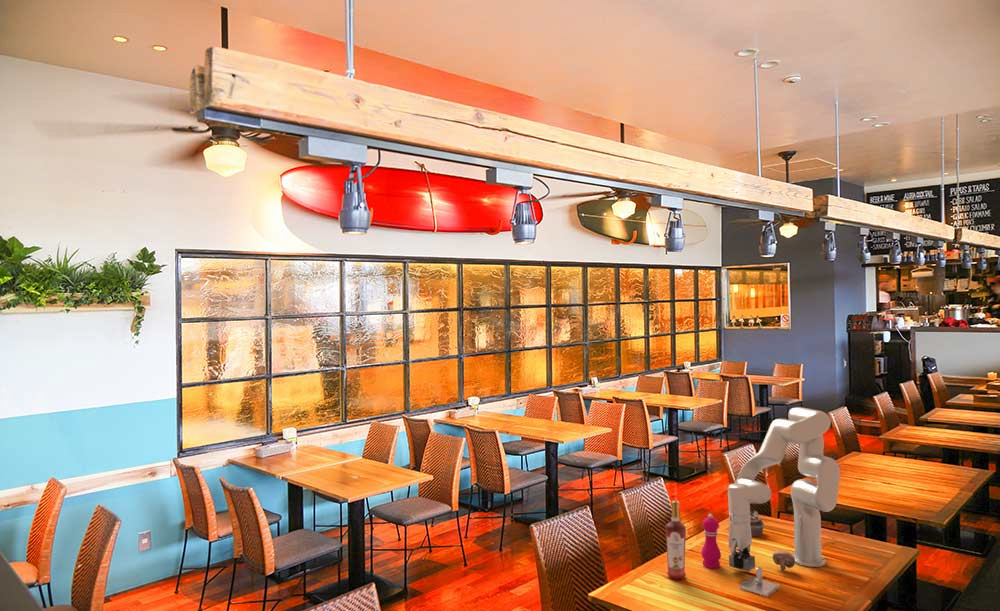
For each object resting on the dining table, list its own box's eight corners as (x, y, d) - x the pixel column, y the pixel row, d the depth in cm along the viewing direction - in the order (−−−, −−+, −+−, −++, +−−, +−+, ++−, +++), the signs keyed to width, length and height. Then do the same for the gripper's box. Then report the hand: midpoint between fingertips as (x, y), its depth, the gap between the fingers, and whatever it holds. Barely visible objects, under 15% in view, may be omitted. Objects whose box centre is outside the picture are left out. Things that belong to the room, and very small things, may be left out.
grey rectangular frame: (729, 566, 242) (728, 555, 242) (736, 561, 246) (735, 551, 246) (748, 571, 237) (748, 560, 237) (755, 566, 240) (754, 556, 240)
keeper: (751, 580, 234) (751, 560, 235) (779, 588, 227) (779, 567, 227) (739, 588, 228) (739, 568, 228) (767, 597, 220) (767, 576, 220)
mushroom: (769, 569, 244) (769, 548, 244) (779, 565, 247) (778, 545, 247) (788, 576, 237) (787, 554, 237) (797, 572, 241) (797, 551, 241)
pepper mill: (722, 569, 244) (721, 517, 244) (702, 568, 245) (701, 516, 245) (719, 562, 251) (718, 511, 251) (700, 561, 252) (699, 510, 252)
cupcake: (743, 537, 278) (742, 514, 278) (738, 529, 288) (738, 507, 288) (766, 538, 277) (766, 514, 277) (761, 530, 286) (760, 508, 286)
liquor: (687, 574, 240) (685, 499, 240) (686, 582, 233) (684, 505, 233) (666, 572, 242) (665, 498, 243) (665, 580, 235) (664, 503, 236)
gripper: (740, 509, 250) (742, 555, 250) (719, 521, 238) (722, 570, 238) (759, 513, 244) (761, 560, 245) (739, 525, 232) (741, 575, 233)
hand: (742, 564), depth 241 cm, fingers closed on grey rectangular frame, 5 cm apart
